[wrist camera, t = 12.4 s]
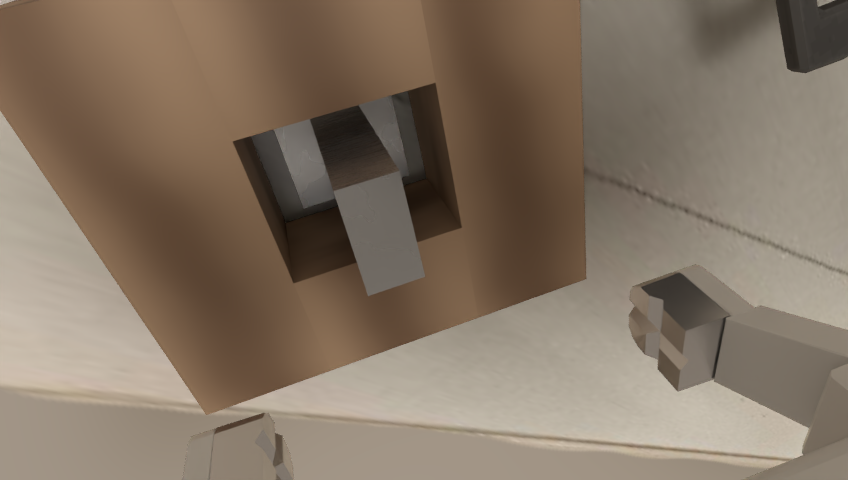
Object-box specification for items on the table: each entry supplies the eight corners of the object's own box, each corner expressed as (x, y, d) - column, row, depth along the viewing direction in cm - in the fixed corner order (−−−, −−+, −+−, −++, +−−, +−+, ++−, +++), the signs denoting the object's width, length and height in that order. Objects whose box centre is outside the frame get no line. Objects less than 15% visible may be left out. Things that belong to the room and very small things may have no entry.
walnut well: (508, -118, 20) (577, -130, 16) (537, 228, 29) (586, 278, 25) (14, 1, 17) (-58, 23, 13) (212, 338, 26) (206, 415, 22)
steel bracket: (384, 84, 22) (447, 156, 15) (404, 167, 25) (466, 262, 18) (270, 116, 22) (282, 207, 15) (301, 198, 24) (324, 311, 17)
